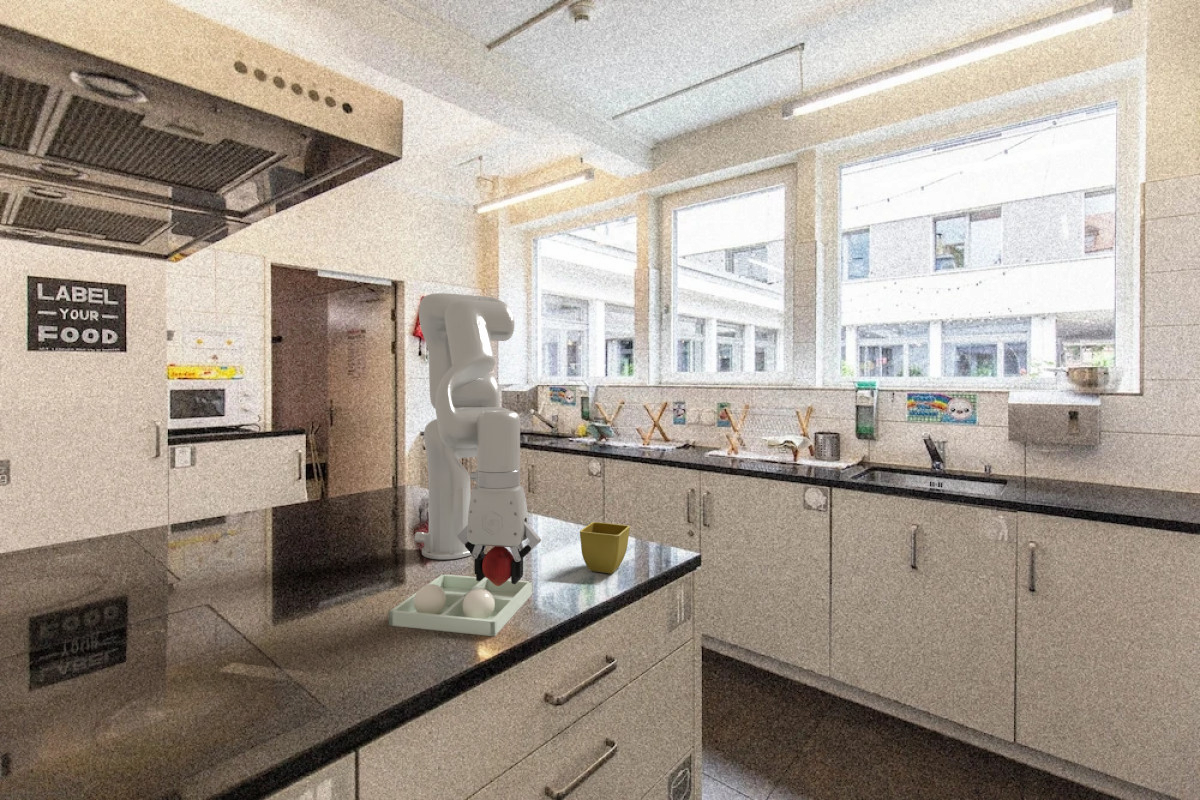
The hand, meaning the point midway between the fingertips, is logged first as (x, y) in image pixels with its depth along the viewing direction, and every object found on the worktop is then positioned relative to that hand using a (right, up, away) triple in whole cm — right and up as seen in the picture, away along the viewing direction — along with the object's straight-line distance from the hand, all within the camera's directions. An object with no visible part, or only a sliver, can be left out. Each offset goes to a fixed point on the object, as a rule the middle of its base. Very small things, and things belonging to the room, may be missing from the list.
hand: (498, 579), depth 101 cm
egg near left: (-10, -4, -7) cm, 13 cm away
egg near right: (-2, -4, -8) cm, 10 cm away
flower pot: (+19, -5, +20) cm, 28 cm away
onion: (0, -1, 0) cm, 1 cm away
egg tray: (-5, -5, -3) cm, 8 cm away
